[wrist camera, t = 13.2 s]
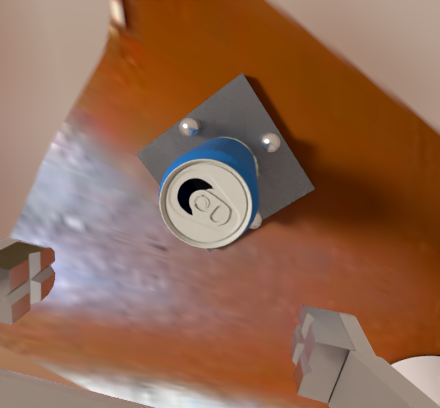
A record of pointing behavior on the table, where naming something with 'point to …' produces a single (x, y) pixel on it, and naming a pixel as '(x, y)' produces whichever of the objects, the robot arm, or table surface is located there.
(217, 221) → the beverage can
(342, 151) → the table surface
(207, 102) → the plate
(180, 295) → the table surface
